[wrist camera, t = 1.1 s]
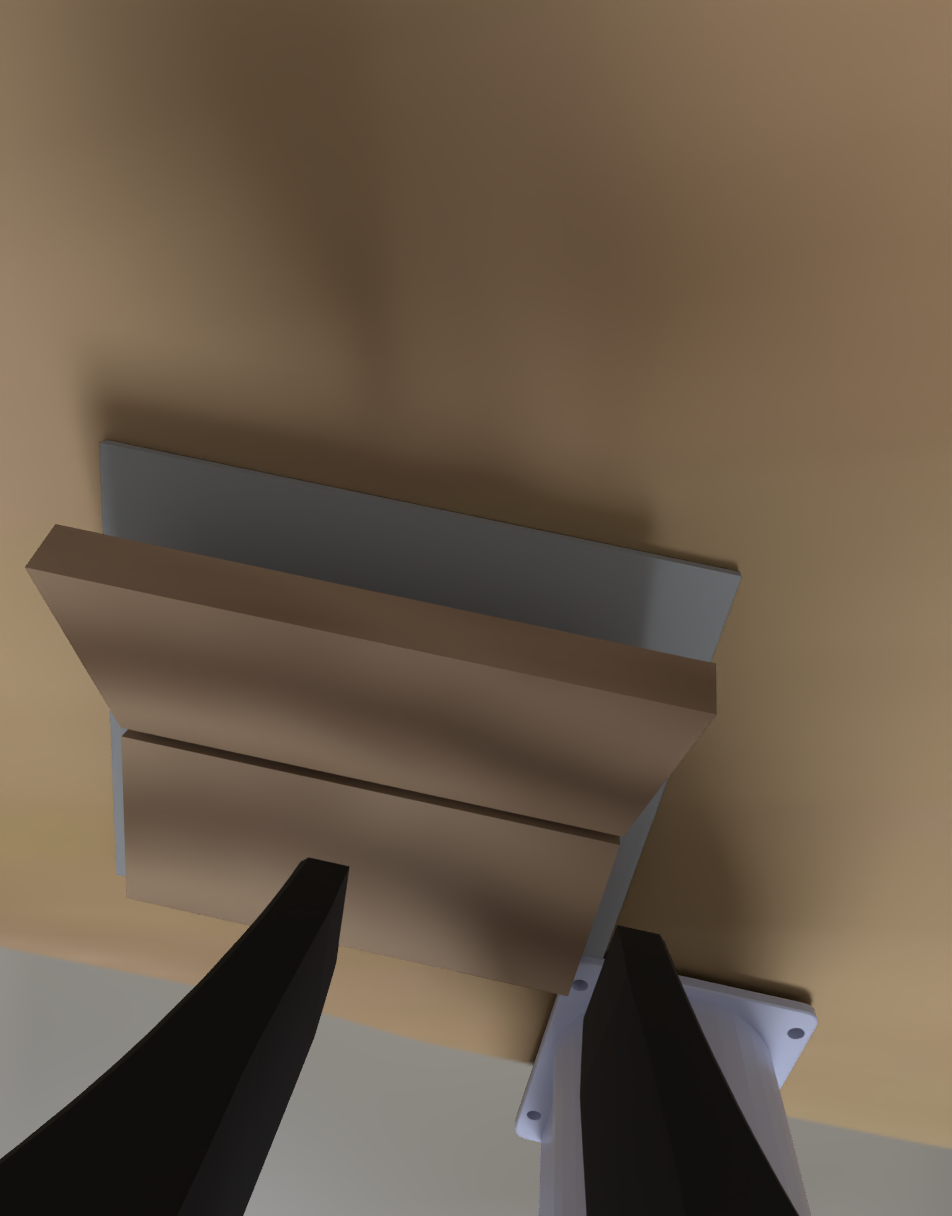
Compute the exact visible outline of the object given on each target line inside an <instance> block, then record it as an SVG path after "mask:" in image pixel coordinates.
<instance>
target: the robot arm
mask: <svg viewBox="0 0 952 1216" xmlns="http://www.w3.org/2000/svg"><path fill="white" fill-rule="evenodd" d="M349 868H350V866H346V865H341V864H337V863H332V862H328V861H323V860H319V859H314V858H310V857H308V858H306V859H304V860H303V861H301V862H300V863H299V864H298V866H297V867H296V869H295V870H294V872H293V873H292V874H291V876H290V877H289V879H288V880H287V881H286V882H285V884H284V885H283V886H282V888H281V889H280V890H279V892H278V893H277V894H276V896H275V897H274V898H273V899H272V901H271V902H270V903H269V904H268V906H267V907H266V908H265V909H264V910H263V912H262V913H261V914H260V915H259V916H258V918H257V919H256V920H255V921H254V922H253V923H252V925H251V926H250V927H249V928H248V929H247V931H246V932H245V933H244V934H243V935H242V936H241V937H240V938H239V940H238V941H237V942H236V943H235V944H234V945H233V946H232V947H231V948H230V949H229V951H228V952H227V953H226V954H225V955H224V956H223V957H222V958H221V959H220V961H219V962H218V963H217V964H216V965H215V966H214V967H213V968H212V969H211V970H210V972H209V973H208V974H207V975H206V976H205V977H204V978H203V979H202V980H201V981H200V982H199V983H198V984H197V985H196V986H195V987H194V988H193V989H192V990H191V991H190V992H189V993H188V994H187V995H186V996H185V997H184V998H183V999H182V1000H181V1001H180V1002H179V1003H178V1004H177V1005H176V1006H175V1007H174V1008H173V1009H172V1010H171V1011H170V1012H169V1013H168V1014H167V1015H166V1016H165V1017H164V1018H163V1019H162V1020H161V1021H160V1022H159V1023H158V1024H157V1025H156V1026H155V1027H154V1028H153V1029H152V1030H151V1031H150V1032H149V1033H148V1034H147V1035H146V1036H145V1037H144V1038H143V1039H141V1040H140V1041H139V1042H138V1043H137V1044H136V1045H135V1046H134V1047H133V1048H132V1049H131V1050H130V1051H129V1052H128V1053H126V1054H125V1055H124V1056H123V1057H122V1058H121V1059H120V1060H119V1061H118V1062H117V1063H115V1064H114V1065H113V1066H112V1067H111V1068H110V1069H109V1070H107V1071H106V1072H105V1073H104V1074H103V1075H102V1076H101V1077H99V1078H98V1079H97V1080H96V1081H95V1082H94V1083H93V1084H91V1085H90V1086H89V1087H88V1088H87V1089H86V1090H85V1091H83V1092H82V1093H81V1094H80V1095H79V1096H78V1097H76V1098H75V1099H74V1100H73V1101H72V1102H70V1103H69V1104H68V1105H67V1106H66V1107H64V1108H63V1109H62V1110H61V1111H60V1112H58V1113H57V1114H56V1115H55V1116H53V1117H52V1118H51V1119H50V1120H48V1121H47V1122H46V1123H45V1124H43V1125H42V1126H41V1127H40V1128H39V1129H37V1130H36V1131H35V1132H34V1133H32V1134H31V1135H30V1136H29V1137H28V1138H26V1139H25V1140H24V1141H23V1142H22V1143H20V1144H19V1145H18V1146H16V1147H15V1148H14V1149H13V1150H11V1151H10V1152H9V1153H7V1154H6V1155H5V1156H4V1157H2V1158H1V1159H0V1216H243V1215H244V1212H245V1210H246V1207H247V1204H248V1202H249V1200H250V1197H251V1195H252V1192H253V1190H254V1187H255V1185H256V1182H257V1179H258V1177H259V1174H260V1172H261V1170H262V1167H263V1165H264V1162H265V1159H266V1157H267V1155H268V1152H269V1149H270V1147H271V1144H272V1142H273V1140H274V1137H275V1135H276V1132H277V1130H278V1127H279V1125H280V1122H281V1120H282V1117H283V1114H284V1112H285V1110H286V1107H287V1104H288V1102H289V1100H290V1097H291V1095H292V1092H293V1090H294V1087H295V1084H296V1082H297V1080H298V1077H299V1074H300V1072H301V1069H302V1067H303V1064H304V1062H305V1059H306V1057H307V1054H308V1052H309V1049H310V1047H311V1044H312V1042H313V1039H314V1036H315V1033H316V1030H317V1026H318V1023H319V1020H320V1016H321V1013H322V1010H323V1006H324V1003H325V1000H326V996H327V993H328V989H329V986H330V982H331V979H332V976H333V972H334V969H335V965H336V960H337V953H338V946H339V939H340V932H341V924H342V917H343V910H344V903H345V896H346V889H347V882H348V875H349ZM581 980H582V981H581ZM817 1023H818V1020H817V1017H816V1014H815V1011H814V1008H812V1007H811V1006H810V1005H808V1004H805V1003H802V1002H798V1001H793V1000H789V999H784V998H780V997H775V996H771V995H766V994H762V993H757V992H753V991H748V990H744V989H739V988H735V987H730V986H726V985H721V984H717V983H712V982H708V981H703V980H699V979H694V978H689V977H685V976H680V975H678V974H677V971H676V969H675V966H674V964H673V962H672V959H671V957H670V954H669V952H668V949H667V947H666V944H665V942H664V940H663V939H662V937H661V936H660V935H659V934H655V933H650V932H646V931H641V930H637V929H632V928H627V927H623V926H618V925H617V928H616V930H615V933H614V936H613V939H612V941H611V944H610V947H609V950H608V952H607V955H606V958H605V959H604V958H603V960H602V959H597V958H593V957H588V956H582V958H581V960H580V963H579V966H578V969H577V972H576V975H575V978H574V981H573V984H572V986H571V989H570V992H569V995H568V996H564V995H559V994H557V997H556V1000H555V1003H554V1006H553V1009H552V1012H551V1015H550V1018H549V1021H548V1024H547V1027H546V1030H545V1033H544V1036H543V1039H542V1042H541V1045H540V1047H539V1050H538V1053H537V1056H536V1059H535V1062H534V1065H533V1068H532V1071H531V1074H530V1077H529V1080H528V1083H527V1086H526V1089H525V1092H524V1096H523V1098H522V1101H521V1104H520V1107H519V1110H518V1113H517V1116H516V1120H515V1131H516V1133H517V1134H518V1135H519V1136H520V1137H522V1138H525V1139H529V1140H533V1141H537V1142H541V1158H540V1191H539V1216H811V1212H810V1208H809V1204H808V1200H807V1197H806V1192H805V1188H804V1185H803V1181H802V1177H801V1173H800V1169H799V1165H798V1161H797V1157H796V1153H795V1149H794V1145H793V1141H792V1137H791V1133H790V1129H789V1125H788V1121H787V1117H786V1113H785V1109H784V1105H783V1101H782V1097H781V1093H780V1089H781V1087H782V1085H783V1084H784V1082H785V1080H786V1078H787V1077H788V1075H789V1073H790V1071H791V1070H792V1068H793V1066H794V1064H795V1063H796V1061H797V1059H798V1057H799V1056H800V1054H801V1052H802V1050H803V1049H804V1047H805V1045H806V1044H807V1042H808V1040H809V1038H810V1037H811V1035H812V1033H813V1031H814V1030H815V1028H816V1026H817Z"/></svg>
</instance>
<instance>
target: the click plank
mask: <svg viewBox="0 0 952 1216" xmlns="http://www.w3.org/2000/svg"><path fill="white" fill-rule="evenodd" d="M25 568H26V570H27V572H28V573H29V575H30V577H31V578H32V580H33V582H34V583H35V585H36V587H37V588H38V590H39V592H40V593H41V595H42V597H43V598H44V600H45V602H46V603H47V605H48V607H49V608H50V610H51V612H52V613H53V615H54V617H55V618H56V620H57V622H58V623H59V625H60V627H61V629H62V630H63V632H64V634H65V635H66V637H67V639H68V640H69V642H70V644H71V645H72V647H73V649H74V650H75V652H76V654H77V655H78V657H79V659H80V660H81V662H82V664H83V665H84V667H85V669H86V670H87V672H88V674H89V675H90V677H91V679H92V680H93V682H94V684H95V685H96V687H97V689H98V690H99V692H100V694H101V695H102V697H103V699H104V700H105V702H106V704H107V705H108V707H109V709H110V710H111V712H112V714H113V715H114V717H115V719H116V720H117V722H118V724H119V725H120V727H121V728H125V729H130V730H134V731H139V732H143V733H148V734H153V735H157V736H162V737H166V738H171V739H176V740H180V741H185V742H189V743H194V744H199V745H203V746H208V747H212V748H217V749H222V750H226V751H231V752H235V753H240V754H245V755H249V756H254V757H258V758H263V759H268V760H272V761H277V762H281V763H286V764H291V765H295V766H300V767H304V768H309V769H314V770H318V771H323V772H327V773H332V774H337V775H341V776H346V777H350V778H355V779H360V780H364V781H369V782H373V783H378V784H383V785H387V786H392V787H396V788H401V789H406V790H410V791H415V792H419V793H424V794H429V795H433V796H438V797H442V798H447V799H452V800H456V801H461V802H465V803H470V804H475V805H479V806H484V807H488V808H493V809H498V810H502V811H507V812H511V813H516V814H521V815H525V816H530V817H534V818H539V819H544V820H548V821H553V822H557V823H562V824H567V825H571V826H576V827H580V828H585V829H590V830H594V831H599V832H603V833H608V834H613V835H617V836H622V837H623V836H624V835H625V834H626V832H627V831H628V830H629V829H630V827H631V826H632V825H633V823H634V822H635V821H636V819H637V818H638V817H639V815H640V814H641V813H642V811H643V810H644V809H645V808H646V806H647V805H648V804H649V802H650V801H651V800H652V798H653V797H654V796H655V794H656V793H657V792H658V790H659V789H660V788H661V787H662V785H663V784H664V783H665V781H666V780H667V779H668V777H669V776H670V775H671V773H672V772H673V771H674V770H675V768H676V767H677V766H678V764H679V763H680V762H681V760H682V759H683V758H684V756H685V755H686V754H687V752H688V751H689V750H690V749H691V747H692V746H693V745H694V743H695V742H696V741H697V739H698V738H699V737H700V735H701V734H702V733H703V732H704V730H705V729H706V728H707V726H708V725H709V724H710V722H711V721H712V720H713V718H714V717H715V716H716V664H715V663H711V662H706V661H701V660H697V659H692V658H687V657H682V656H678V655H673V654H668V653H663V652H659V651H654V650H649V649H644V648H640V647H635V646H630V645H626V644H621V643H616V642H611V641H607V640H602V639H597V638H592V637H588V636H583V635H578V634H573V633H569V632H564V631H559V630H554V629H550V628H545V627H540V626H536V625H531V624H526V623H521V622H517V621H512V620H507V619H502V618H498V617H493V616H488V615H483V614H479V613H474V612H469V611H465V610H460V609H455V608H450V607H446V606H441V605H436V604H431V603H427V602H422V601H417V600H412V599H408V598H403V597H398V596H393V595H389V594H384V593H379V592H375V591H370V590H365V589H360V588H356V587H351V586H346V585H341V584H337V583H332V582H327V581H322V580H318V579H313V578H308V577H304V576H299V575H294V574H289V573H285V572H280V571H275V570H270V569H266V568H261V567H256V566H251V565H247V564H242V563H237V562H233V561H228V560H223V559H218V558H214V557H209V556H204V555H199V554H195V553H190V552H185V551H180V550H176V549H171V548H166V547H161V546H157V545H152V544H147V543H143V542H138V541H133V540H128V539H124V538H119V537H114V536H109V535H105V534H100V533H95V532H90V531H86V530H81V529H76V528H72V527H67V526H62V525H57V524H55V526H54V527H53V528H52V530H51V531H50V533H49V534H48V535H47V537H46V538H45V540H44V541H43V542H42V544H41V545H40V547H39V548H38V550H37V551H36V552H35V554H34V555H33V557H32V558H31V559H30V561H29V562H28V564H27V565H26V567H25Z"/></svg>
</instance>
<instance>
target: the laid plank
mask: <svg viewBox="0 0 952 1216" xmlns="http://www.w3.org/2000/svg"><path fill="white" fill-rule="evenodd" d="M121 746H122V777H123V807H124V838H125V868H126V898H128V899H133V900H137V901H142V902H146V903H151V904H155V905H160V906H164V907H169V908H173V909H178V910H182V911H187V912H191V913H196V914H200V915H205V916H209V917H214V918H218V919H222V920H227V921H231V922H236V923H240V924H245V925H249V926H251V925H252V923H253V922H254V921H255V920H256V919H257V918H258V916H259V915H260V914H261V913H262V912H263V910H264V909H265V908H266V907H267V906H268V904H269V903H270V902H271V901H272V899H273V898H274V897H275V896H276V894H277V893H278V892H279V890H280V889H281V888H282V886H283V885H284V884H285V882H286V881H287V880H288V879H289V877H290V876H291V874H292V873H293V872H294V870H295V869H296V867H297V866H298V864H299V863H300V862H301V861H303V860H304V859H306V858H308V857H310V858H314V859H319V860H323V861H328V862H332V863H337V864H341V865H346V866H350V868H349V875H348V882H347V889H346V896H345V903H344V910H343V917H342V924H341V932H340V939H339V946H344V947H348V948H353V949H357V950H362V951H366V952H371V953H375V954H380V955H384V956H389V957H393V958H397V959H402V960H406V961H411V962H415V963H420V964H424V965H429V966H433V967H438V968H442V969H447V970H451V971H456V972H460V973H465V974H469V975H474V976H478V977H483V978H487V979H492V980H496V981H501V982H505V983H510V984H514V985H519V986H523V987H528V988H532V989H537V990H541V991H546V992H550V993H555V994H559V995H564V996H568V995H569V992H570V989H571V986H572V984H573V981H574V978H575V975H576V972H577V969H578V966H579V963H580V960H581V958H582V955H583V952H584V949H585V946H586V943H587V940H588V937H589V934H590V931H591V929H592V926H593V923H594V920H595V917H596V914H597V911H598V908H599V905H600V902H601V900H602V897H603V894H604V891H605V888H606V885H607V882H608V879H609V876H610V874H611V871H612V868H613V865H614V862H615V859H616V856H617V853H618V850H619V847H620V836H617V835H613V834H608V833H603V832H599V831H594V830H590V829H585V828H580V827H576V826H571V825H567V824H562V823H557V822H553V821H548V820H544V819H539V818H534V817H530V816H525V815H521V814H516V813H511V812H507V811H502V810H498V809H493V808H488V807H484V806H479V805H475V804H470V803H465V802H461V801H456V800H452V799H447V798H442V797H438V796H433V795H429V794H424V793H419V792H415V791H410V790H406V789H401V788H396V787H392V786H387V785H383V784H378V783H373V782H369V781H364V780H360V779H355V778H350V777H346V776H341V775H337V774H332V773H327V772H323V771H318V770H314V769H309V768H304V767H300V766H295V765H291V764H286V763H281V762H277V761H272V760H268V759H263V758H258V757H254V756H249V755H245V754H240V753H235V752H231V751H226V750H222V749H217V748H212V747H208V746H203V745H199V744H194V743H189V742H185V741H180V740H176V739H171V738H166V737H162V736H157V735H153V734H148V733H143V732H139V731H134V730H130V729H128V730H127V731H126V732H125V733H124V734H123V735H122V736H121Z"/></svg>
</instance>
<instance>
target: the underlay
mask: <svg viewBox="0 0 952 1216" xmlns="http://www.w3.org/2000/svg"><path fill="white" fill-rule="evenodd" d="M99 445H100V471H101V496H102V521H103V534H105V535H109V536H114V537H119V538H124V539H128V540H133V541H138V542H143V543H147V544H152V545H157V546H161V547H166V548H171V549H176V550H180V551H185V552H190V553H195V554H199V555H204V556H209V557H214V558H218V559H223V560H228V561H233V562H237V563H242V564H247V565H251V566H256V567H261V568H266V569H270V570H275V571H280V572H285V573H289V574H294V575H299V576H304V577H308V578H313V579H318V580H322V581H327V582H332V583H337V584H341V585H346V586H351V587H356V588H360V589H365V590H370V591H375V592H379V593H384V594H389V595H393V596H398V597H403V598H408V599H412V600H417V601H422V602H427V603H431V604H436V605H441V606H446V607H450V608H455V609H460V610H465V611H469V612H474V613H479V614H483V615H488V616H493V617H498V618H502V619H507V620H512V621H517V622H521V623H526V624H531V625H536V626H540V627H545V628H550V629H554V630H559V631H564V632H569V633H573V634H578V635H583V636H588V637H592V638H597V639H602V640H607V641H611V642H616V643H621V644H626V645H630V646H635V647H640V648H644V649H649V650H654V651H659V652H663V653H668V654H673V655H678V656H682V657H687V658H692V659H697V660H701V661H706V662H711V660H712V657H713V654H714V652H715V649H716V646H717V643H718V641H719V638H720V635H721V632H722V630H723V627H724V624H725V621H726V619H727V616H728V613H729V610H730V608H731V605H732V602H733V599H734V597H735V594H736V591H737V588H738V586H739V583H740V580H741V577H742V576H741V574H740V572H738V571H734V570H729V569H724V568H719V567H714V566H710V565H705V564H700V563H695V562H690V561H686V560H681V559H676V558H671V557H666V556H661V555H657V554H652V553H647V552H642V551H637V550H633V549H628V548H623V547H618V546H613V545H609V544H604V543H599V542H594V541H589V540H585V539H580V538H575V537H570V536H565V535H561V534H556V533H551V532H546V531H541V530H537V529H532V528H527V527H522V526H517V525H513V524H508V523H503V522H498V521H493V520H489V519H484V518H479V517H474V516H469V515H464V514H460V513H455V512H450V511H445V510H440V509H436V508H431V507H426V506H421V505H416V504H412V503H407V502H402V501H397V500H392V499H388V498H383V497H378V496H373V495H368V494H364V493H359V492H354V491H349V490H344V489H340V488H335V487H330V486H325V485H320V484H316V483H311V482H306V481H301V480H296V479H291V478H287V477H282V476H277V475H272V474H267V473H263V472H258V471H253V470H248V469H243V468H239V467H234V466H229V465H224V464H219V463H215V462H210V461H205V460H200V459H195V458H191V457H186V456H181V455H176V454H171V453H167V452H162V451H157V450H152V449H147V448H143V447H138V446H133V445H128V444H123V443H119V442H114V441H109V440H105V441H102V442H100V443H99ZM110 721H111V746H112V771H113V796H114V821H115V847H116V872H117V875H121V876H125V877H126V868H125V838H124V807H123V777H122V746H121V736H122V735H123V734H124V733H125V732H126V731H127V730H128V729H125V728H121V727H120V725H119V724H118V722H117V720H116V719H115V717H114V715H113V714H112V712H111V710H110ZM668 778H669V777H668ZM667 781H668V779H667V780H666V781H665V783H664V784H663V785H662V787H661V788H660V789H659V790H658V792H657V793H656V794H655V796H654V797H653V798H652V800H651V801H650V802H649V804H648V805H647V806H646V808H645V809H644V810H643V811H642V813H641V814H640V815H639V817H638V818H637V819H636V821H635V822H634V823H633V825H632V826H631V827H630V829H629V830H628V831H627V832H626V834H625V835H624V836H623V837H622V836H620V847H619V850H618V853H617V856H616V859H615V862H614V865H613V868H612V871H611V874H610V876H609V879H608V882H607V885H606V888H605V891H604V894H603V897H602V900H601V902H600V905H599V908H598V911H597V914H596V917H595V920H594V923H593V926H592V929H591V931H590V934H589V937H588V940H587V943H586V946H585V949H584V952H583V955H582V956H588V957H593V958H597V959H602V960H603V957H604V954H605V952H606V949H607V946H608V943H609V941H610V938H611V935H612V932H613V930H614V927H615V924H616V921H617V919H618V916H619V913H620V910H621V908H622V905H623V902H624V899H625V897H626V894H627V891H628V888H629V886H630V883H631V880H632V877H633V875H634V872H635V869H636V866H637V864H638V861H639V858H640V855H641V853H642V850H643V847H644V844H645V842H646V839H647V836H648V833H649V830H650V828H651V825H652V822H653V819H654V817H655V814H656V811H657V808H658V806H659V803H660V800H661V797H662V795H663V792H664V789H665V786H666V784H667Z"/></svg>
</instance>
